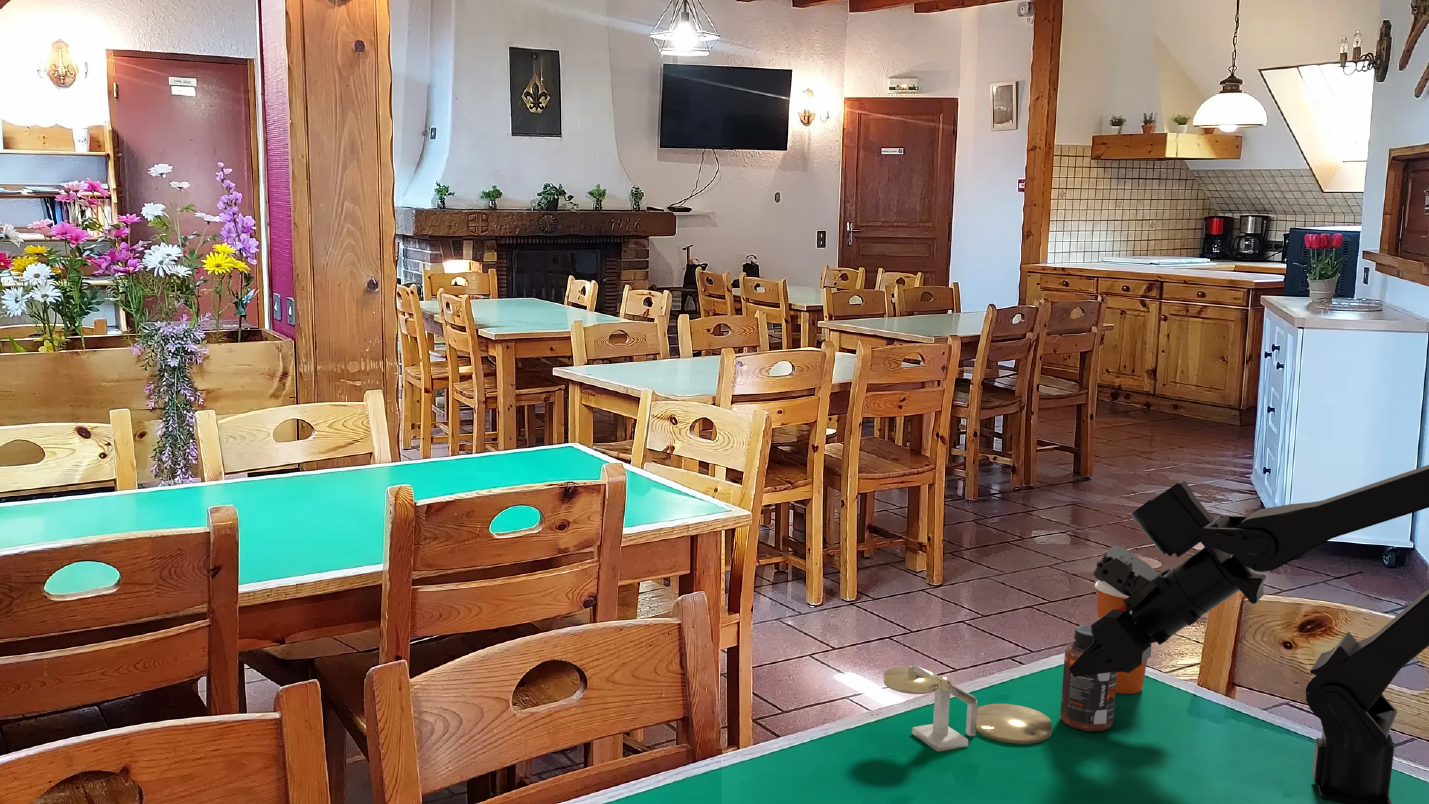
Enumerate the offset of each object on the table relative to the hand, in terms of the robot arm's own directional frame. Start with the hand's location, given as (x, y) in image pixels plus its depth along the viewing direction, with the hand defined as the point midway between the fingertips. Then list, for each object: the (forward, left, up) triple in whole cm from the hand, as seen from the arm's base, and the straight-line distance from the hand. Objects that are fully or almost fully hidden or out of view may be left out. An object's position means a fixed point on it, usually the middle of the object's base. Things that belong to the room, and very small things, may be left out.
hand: (1085, 661), depth 142 cm
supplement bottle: (-1, 0, -8) cm, 8 cm away
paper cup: (-4, -14, -7) cm, 16 cm away
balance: (+12, +10, -7) cm, 17 cm away
